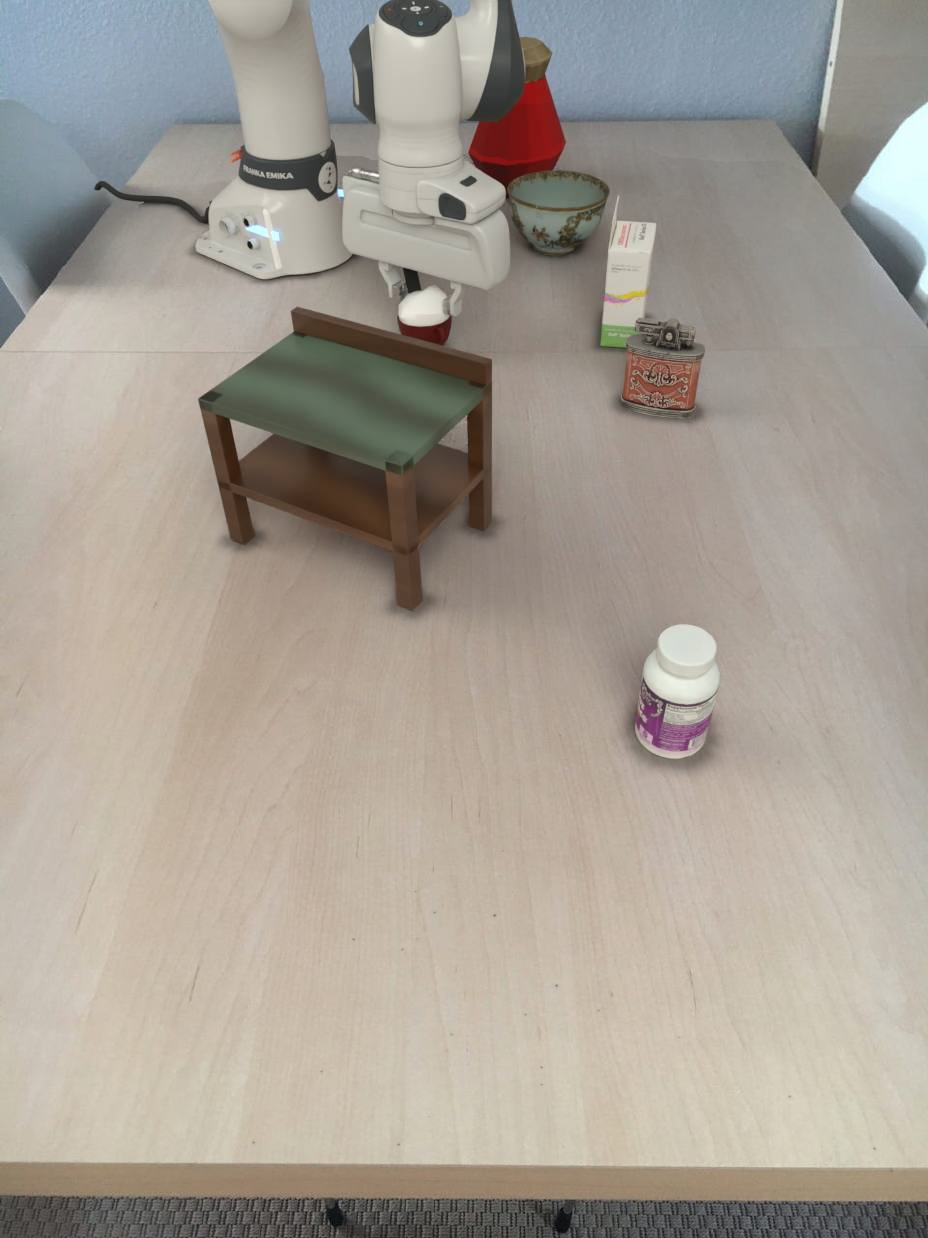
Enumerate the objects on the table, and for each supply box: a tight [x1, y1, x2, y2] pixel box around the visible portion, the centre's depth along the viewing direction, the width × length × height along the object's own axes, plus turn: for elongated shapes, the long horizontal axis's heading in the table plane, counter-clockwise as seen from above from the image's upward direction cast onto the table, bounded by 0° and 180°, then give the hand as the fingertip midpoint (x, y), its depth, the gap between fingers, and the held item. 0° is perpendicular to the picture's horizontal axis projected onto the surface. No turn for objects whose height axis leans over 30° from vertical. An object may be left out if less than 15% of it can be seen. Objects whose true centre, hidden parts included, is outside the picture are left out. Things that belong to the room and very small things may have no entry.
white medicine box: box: [599, 194, 657, 349], centre depth 114 cm, size 9×5×15 cm, turn 168°
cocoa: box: [396, 267, 453, 346], centre depth 112 cm, size 10×6×12 cm, turn 6°
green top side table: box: [197, 306, 493, 612], centre depth 86 cm, size 14×20×17 cm
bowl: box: [507, 169, 610, 257], centre depth 134 cm, size 14×13×8 cm
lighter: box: [619, 317, 706, 419], centre depth 103 cm, size 8×3×10 cm, turn 71°
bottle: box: [467, 36, 567, 199], centre depth 146 cm, size 16×14×20 cm
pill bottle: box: [634, 623, 721, 760], centre depth 71 cm, size 5×5×10 cm
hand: (425, 305), depth 113 cm, fingers closed on cocoa, 6 cm apart
